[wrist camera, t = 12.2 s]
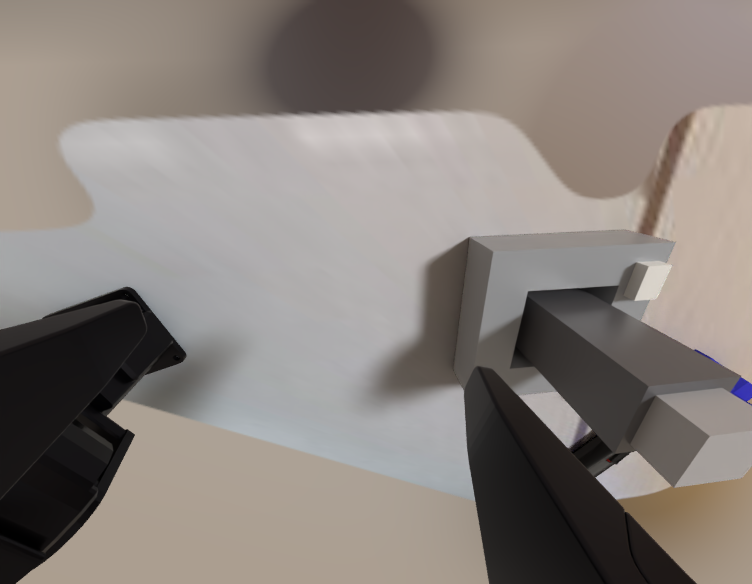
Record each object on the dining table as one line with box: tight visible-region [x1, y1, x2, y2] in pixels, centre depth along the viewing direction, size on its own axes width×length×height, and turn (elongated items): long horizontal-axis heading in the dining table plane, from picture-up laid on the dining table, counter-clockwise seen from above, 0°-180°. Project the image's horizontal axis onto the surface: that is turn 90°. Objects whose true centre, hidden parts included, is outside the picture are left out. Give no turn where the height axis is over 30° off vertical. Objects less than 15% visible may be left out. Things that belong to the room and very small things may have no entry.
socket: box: [453, 230, 676, 395], centre depth 21 cm, size 12×12×4 cm
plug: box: [515, 288, 752, 488], centre depth 17 cm, size 4×4×13 cm
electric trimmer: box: [573, 436, 634, 477], centre depth 30 cm, size 4×16×3 cm, turn 145°
